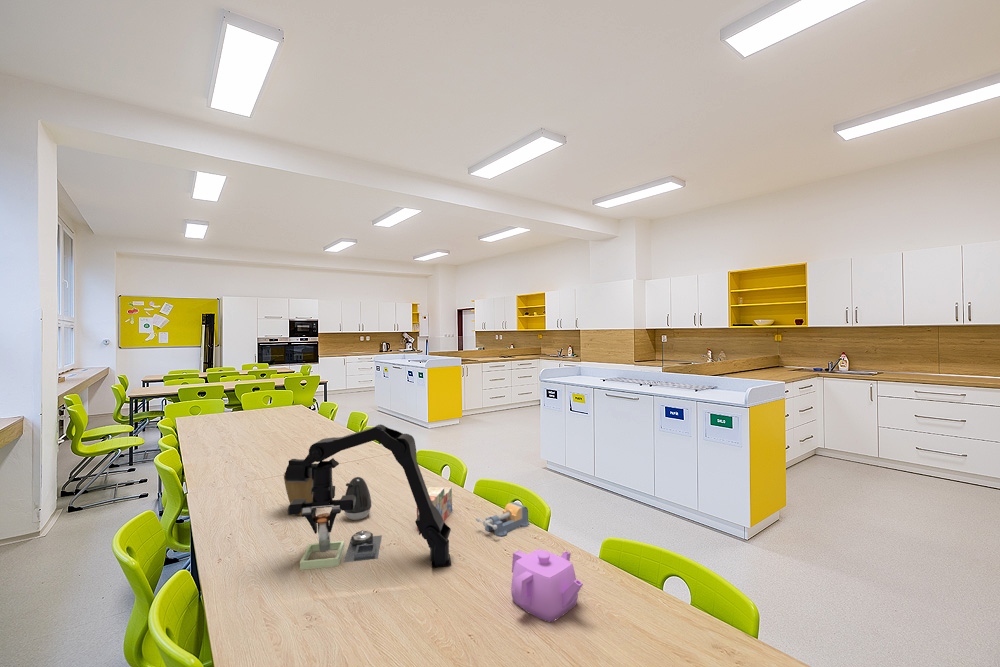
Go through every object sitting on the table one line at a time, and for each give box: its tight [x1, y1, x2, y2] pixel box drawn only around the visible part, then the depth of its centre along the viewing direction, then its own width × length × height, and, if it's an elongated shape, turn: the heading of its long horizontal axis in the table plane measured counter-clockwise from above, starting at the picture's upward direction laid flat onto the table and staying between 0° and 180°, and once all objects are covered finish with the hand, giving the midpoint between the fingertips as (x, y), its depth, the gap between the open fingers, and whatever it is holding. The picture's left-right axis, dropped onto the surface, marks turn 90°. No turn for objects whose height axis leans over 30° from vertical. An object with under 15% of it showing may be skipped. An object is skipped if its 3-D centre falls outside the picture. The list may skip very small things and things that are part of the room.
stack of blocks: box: [416, 486, 453, 532], centre depth 164 cm, size 21×6×12 cm, turn 169°
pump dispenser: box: [343, 476, 372, 521], centre depth 169 cm, size 10×10×15 cm
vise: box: [475, 501, 530, 538], centre depth 158 cm, size 18×10×7 cm, turn 132°
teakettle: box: [510, 548, 584, 623], centre depth 114 cm, size 17×17×12 cm
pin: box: [315, 512, 331, 553], centre depth 136 cm, size 4×4×10 cm
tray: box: [299, 540, 345, 571], centre depth 136 cm, size 12×11×3 cm
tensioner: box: [343, 530, 383, 563], centre depth 142 cm, size 16×10×4 cm, turn 11°
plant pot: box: [283, 471, 313, 516], centre depth 175 cm, size 15×15×16 cm
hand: (323, 532), depth 136 cm, fingers closed on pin, 4 cm apart
